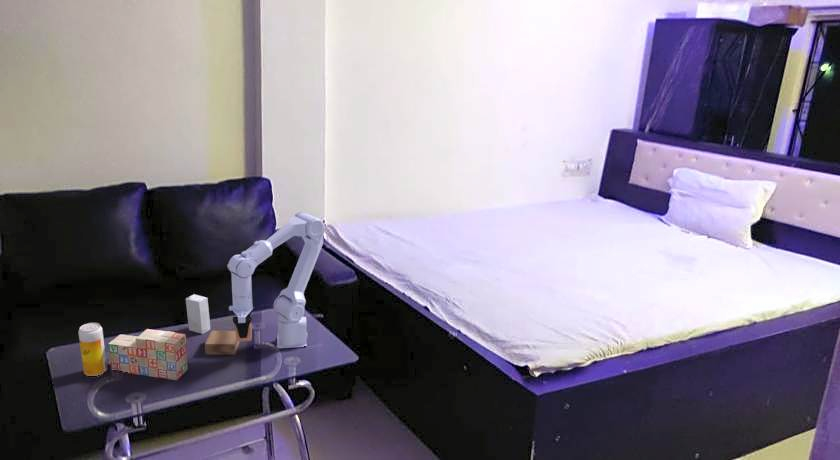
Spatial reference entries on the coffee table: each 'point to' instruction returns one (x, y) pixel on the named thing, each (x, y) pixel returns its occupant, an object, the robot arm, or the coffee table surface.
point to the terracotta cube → (247, 335)
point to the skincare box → (198, 313)
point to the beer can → (92, 349)
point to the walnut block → (221, 343)
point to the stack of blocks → (150, 354)
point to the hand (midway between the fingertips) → (243, 333)
